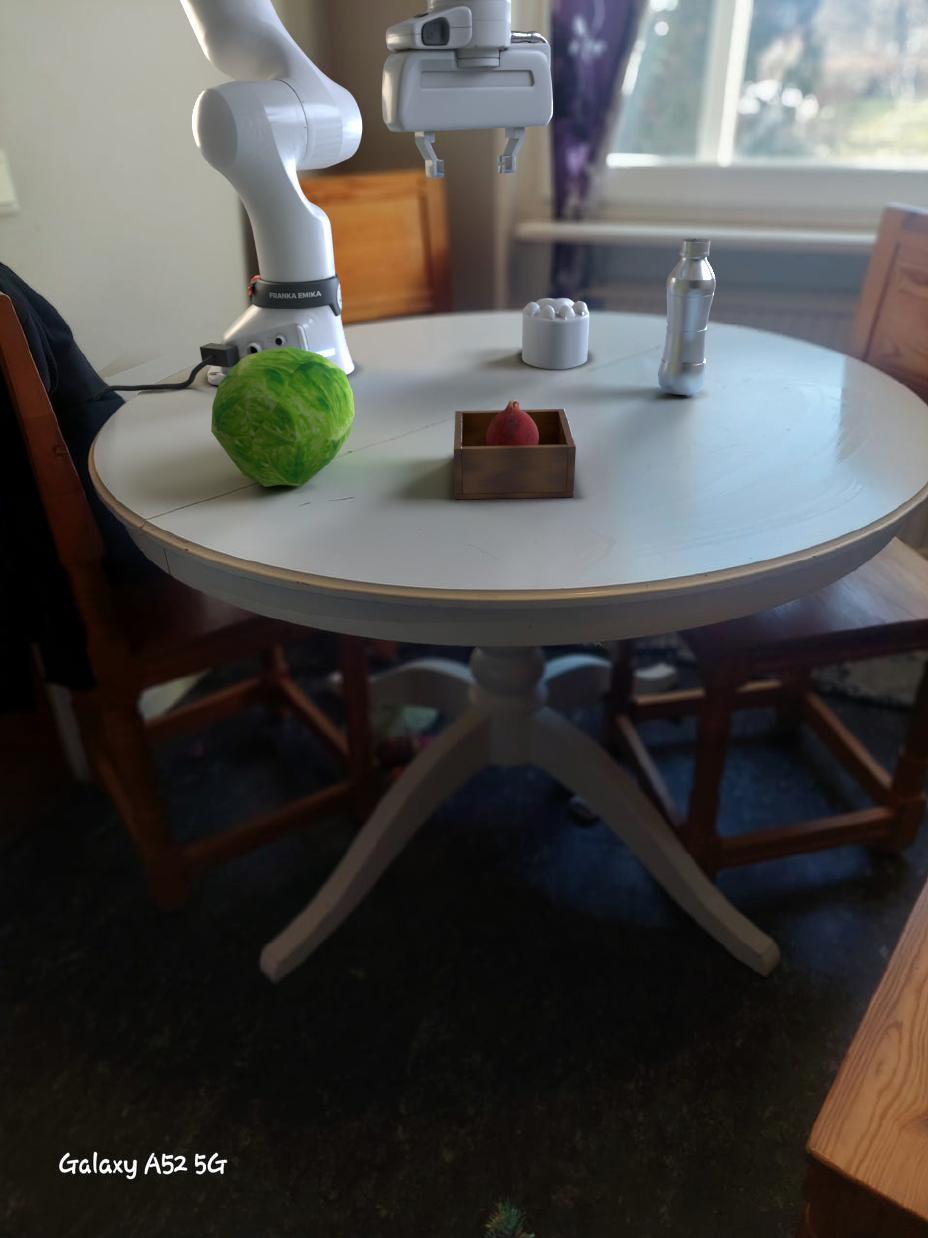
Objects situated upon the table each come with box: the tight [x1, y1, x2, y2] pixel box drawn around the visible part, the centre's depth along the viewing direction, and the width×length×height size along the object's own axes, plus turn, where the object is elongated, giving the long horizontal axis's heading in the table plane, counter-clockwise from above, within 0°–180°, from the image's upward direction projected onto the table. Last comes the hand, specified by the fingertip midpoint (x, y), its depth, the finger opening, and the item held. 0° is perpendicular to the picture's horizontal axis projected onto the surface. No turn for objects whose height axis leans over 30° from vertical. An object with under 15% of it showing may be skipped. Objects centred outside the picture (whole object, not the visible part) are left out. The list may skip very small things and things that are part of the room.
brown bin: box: [453, 408, 577, 500], centre depth 96 cm, size 13×13×6 cm
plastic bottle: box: [657, 237, 717, 396], centre depth 118 cm, size 6×7×20 cm
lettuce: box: [210, 347, 356, 488], centre depth 99 cm, size 15×22×15 cm
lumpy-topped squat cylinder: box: [521, 297, 590, 370], centre depth 138 cm, size 10×13×9 cm
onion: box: [486, 398, 539, 446], centre depth 95 cm, size 6×6×8 cm
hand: (471, 175), depth 100 cm, fingers open, 8 cm apart
